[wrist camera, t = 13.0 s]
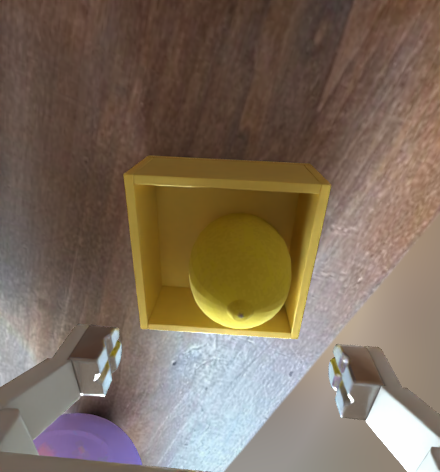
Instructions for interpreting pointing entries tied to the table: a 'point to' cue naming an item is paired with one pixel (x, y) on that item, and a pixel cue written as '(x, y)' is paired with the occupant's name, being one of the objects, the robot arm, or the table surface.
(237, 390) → the table surface
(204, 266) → the lemon
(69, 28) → the table surface
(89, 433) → the decorative ball
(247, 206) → the yellow bin
